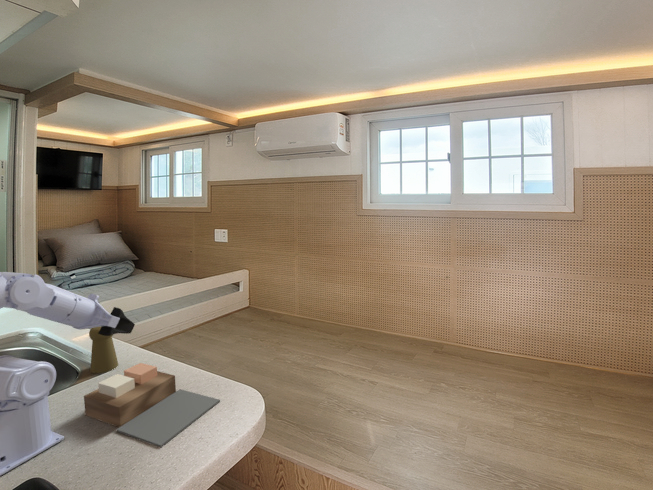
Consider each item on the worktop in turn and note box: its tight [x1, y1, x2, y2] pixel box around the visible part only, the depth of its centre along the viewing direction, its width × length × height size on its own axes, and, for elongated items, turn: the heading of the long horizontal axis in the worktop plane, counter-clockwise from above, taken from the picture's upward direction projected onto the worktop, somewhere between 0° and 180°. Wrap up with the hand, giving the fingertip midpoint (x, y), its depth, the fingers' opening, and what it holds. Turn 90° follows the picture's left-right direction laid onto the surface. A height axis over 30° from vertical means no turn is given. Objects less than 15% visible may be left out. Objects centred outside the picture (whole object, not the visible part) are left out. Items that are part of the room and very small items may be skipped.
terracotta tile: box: [123, 362, 158, 384], centre depth 75 cm, size 4×5×2 cm
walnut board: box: [83, 370, 177, 428], centre depth 72 cm, size 13×10×4 cm
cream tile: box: [97, 373, 135, 398], centre depth 70 cm, size 4×5×2 cm
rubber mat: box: [115, 388, 221, 448], centre depth 68 cm, size 15×11×1 cm
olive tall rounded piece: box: [88, 326, 119, 374], centre depth 88 cm, size 6×6×11 cm
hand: (118, 324), depth 77 cm, fingers open, 7 cm apart
